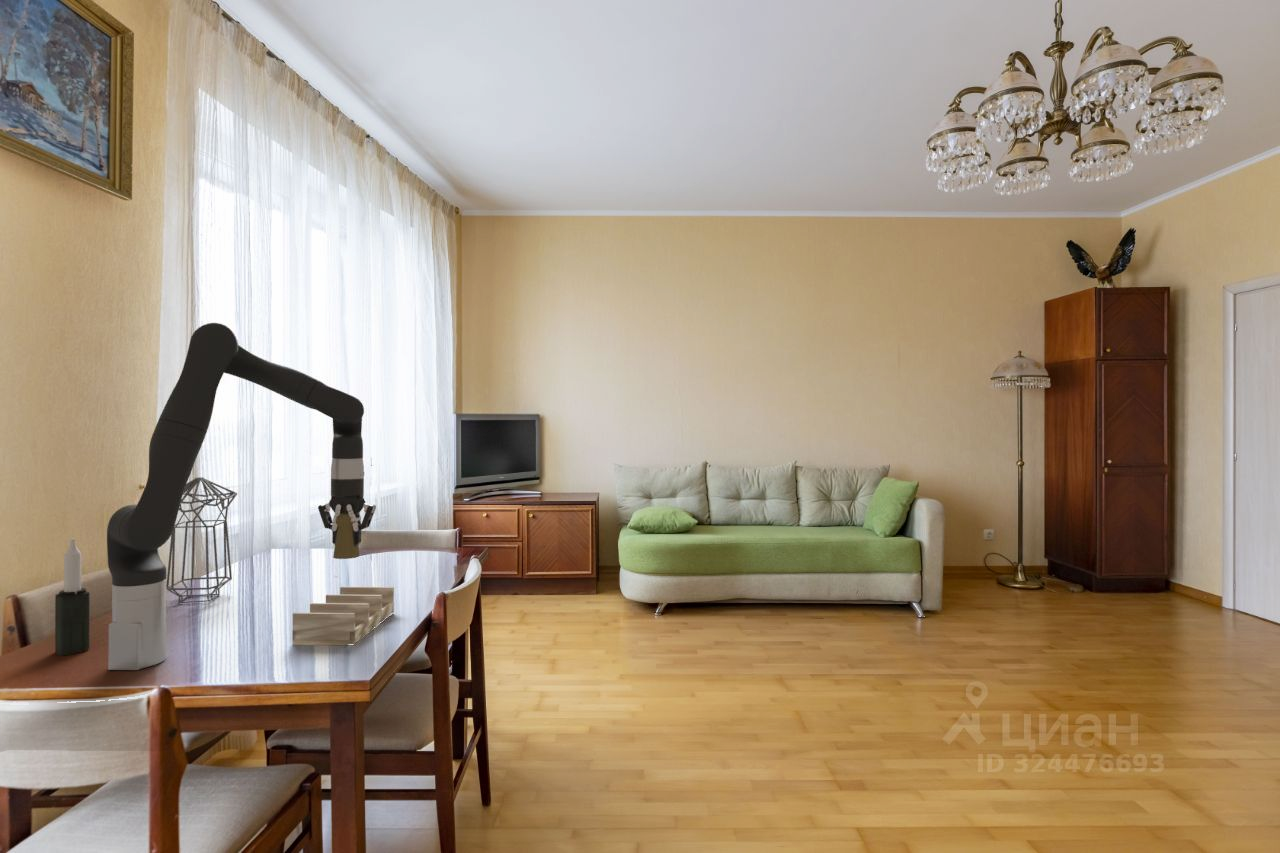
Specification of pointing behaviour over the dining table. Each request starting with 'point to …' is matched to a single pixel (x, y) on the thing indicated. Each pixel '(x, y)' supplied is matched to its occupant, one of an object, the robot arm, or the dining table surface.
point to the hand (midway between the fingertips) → (346, 545)
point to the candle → (72, 607)
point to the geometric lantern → (232, 495)
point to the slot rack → (343, 616)
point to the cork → (345, 538)
